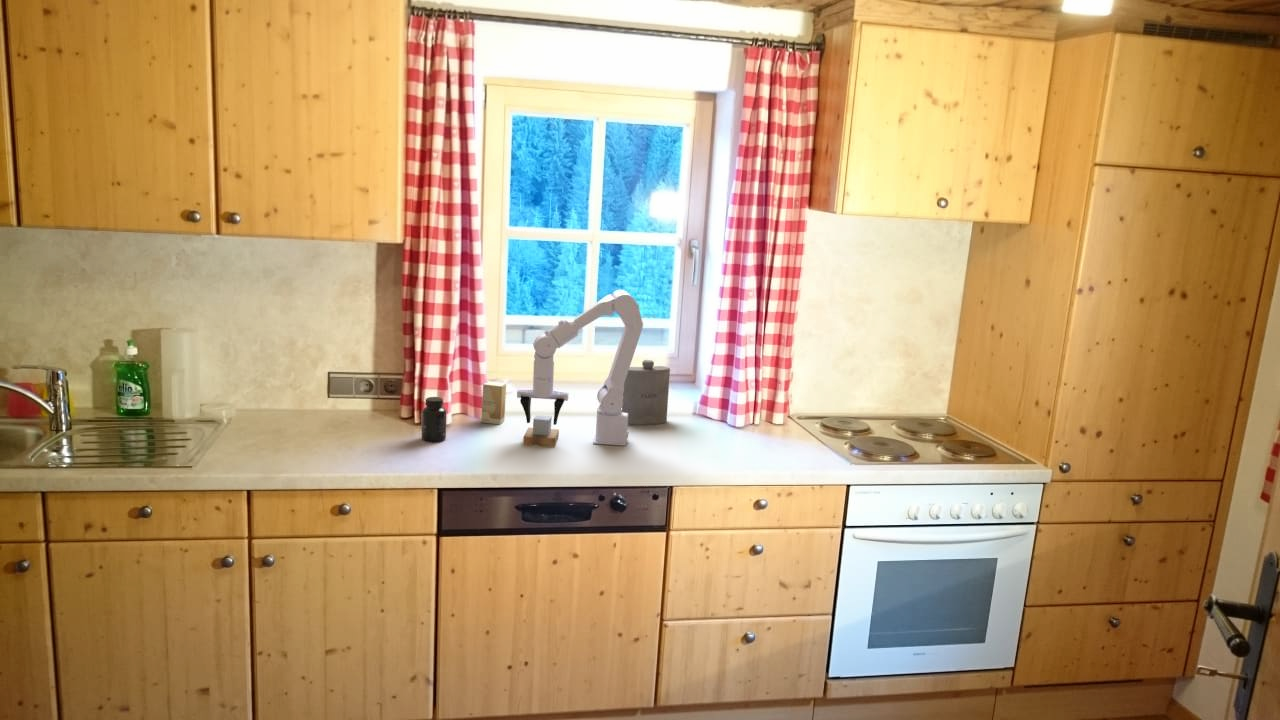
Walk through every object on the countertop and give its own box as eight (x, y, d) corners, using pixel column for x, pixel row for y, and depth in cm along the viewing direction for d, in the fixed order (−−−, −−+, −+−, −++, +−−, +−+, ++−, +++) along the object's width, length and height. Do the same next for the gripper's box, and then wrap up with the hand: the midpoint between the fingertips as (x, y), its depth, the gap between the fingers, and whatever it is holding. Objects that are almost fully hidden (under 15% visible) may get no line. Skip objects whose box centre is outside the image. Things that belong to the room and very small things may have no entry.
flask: (624, 426, 290) (628, 363, 286) (619, 420, 295) (622, 359, 291) (669, 424, 295) (673, 362, 291) (663, 418, 300) (667, 358, 296)
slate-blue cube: (550, 431, 272) (551, 416, 271) (548, 435, 268) (549, 420, 267) (535, 429, 272) (536, 414, 271) (532, 434, 268) (533, 419, 267)
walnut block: (558, 439, 275) (558, 429, 274) (554, 448, 266) (555, 438, 265) (527, 437, 275) (528, 427, 274) (523, 446, 266) (523, 436, 266)
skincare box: (480, 422, 285) (481, 383, 282) (485, 419, 289) (486, 380, 286) (501, 424, 284) (502, 385, 281) (505, 421, 288) (506, 382, 285)
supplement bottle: (416, 440, 264) (416, 399, 262) (430, 434, 271) (430, 394, 268) (437, 444, 262) (437, 403, 259) (450, 438, 268) (451, 397, 266)
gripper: (570, 375, 270) (568, 420, 273) (520, 372, 270) (519, 417, 273) (567, 381, 263) (565, 427, 266) (516, 377, 264) (515, 424, 266)
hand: (541, 422), depth 269 cm, fingers open, 7 cm apart
